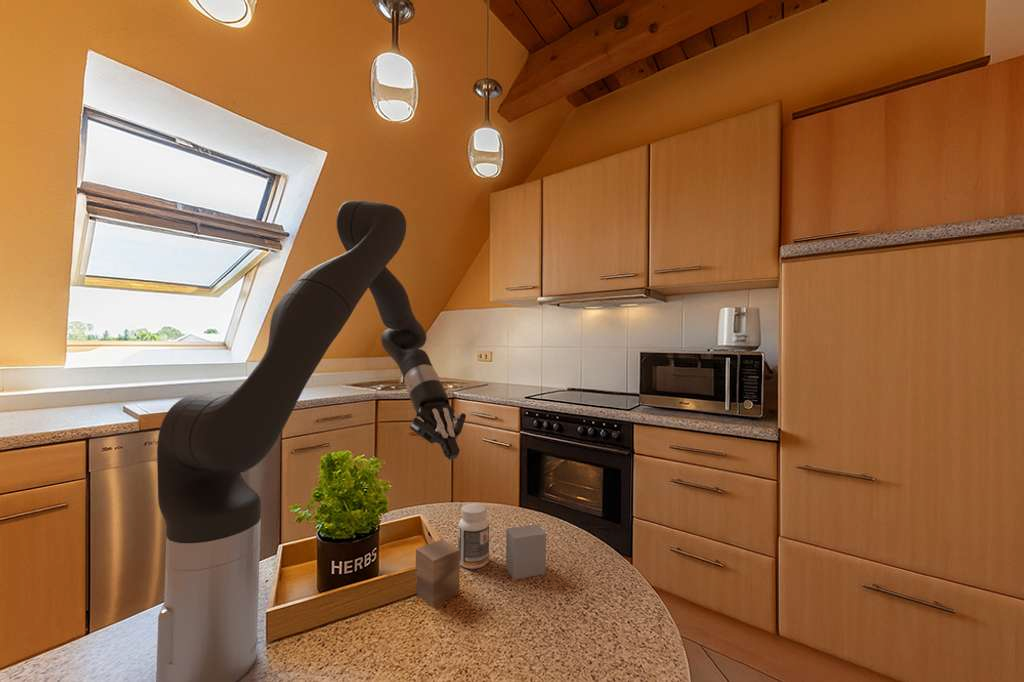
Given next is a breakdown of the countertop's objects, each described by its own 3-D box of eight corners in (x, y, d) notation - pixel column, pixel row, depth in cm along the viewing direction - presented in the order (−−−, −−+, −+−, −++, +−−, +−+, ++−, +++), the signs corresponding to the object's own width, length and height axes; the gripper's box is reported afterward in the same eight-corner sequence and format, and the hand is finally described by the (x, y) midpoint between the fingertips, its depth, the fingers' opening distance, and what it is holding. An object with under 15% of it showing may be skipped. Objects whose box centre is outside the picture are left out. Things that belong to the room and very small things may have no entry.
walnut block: (432, 607, 61) (433, 560, 61) (415, 592, 65) (415, 548, 65) (459, 593, 65) (459, 549, 65) (441, 580, 68) (441, 538, 68)
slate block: (513, 579, 69) (514, 538, 69) (505, 567, 73) (506, 528, 73) (545, 573, 71) (546, 533, 71) (536, 562, 75) (537, 524, 75)
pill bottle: (494, 559, 75) (495, 506, 75) (476, 573, 70) (477, 516, 71) (470, 551, 78) (471, 499, 78) (451, 564, 73) (452, 509, 74)
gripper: (403, 379, 83) (431, 451, 74) (457, 377, 92) (489, 441, 82) (392, 402, 87) (417, 473, 78) (445, 398, 96) (473, 462, 86)
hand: (454, 456), depth 80 cm, fingers closed
